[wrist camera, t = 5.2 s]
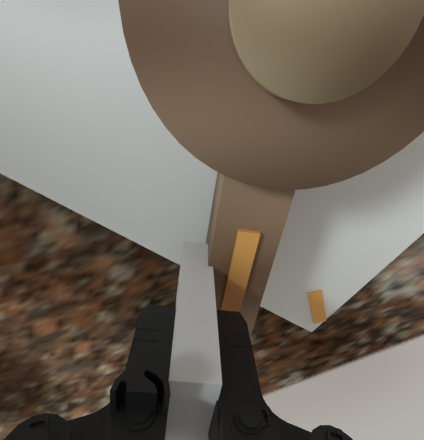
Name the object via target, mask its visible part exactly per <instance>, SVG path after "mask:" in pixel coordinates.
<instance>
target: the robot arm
mask: <svg viewBox="0 0 424 440" xmlns="http://www.w3.org/2000/svg"><path fill="white" fill-rule="evenodd" d="M249 336H250V335H249V330H248V326H247V322H246V321H245V319H244V318H243V316H242V315H241V314H240V312H237V311H225V310H216V298H215V285H214V272H213V267H211V266H208V244H204V243H196V242H187V241H183V248H182V256H181V264H180V272H179V280H178V288H177V297H176V306H175V307H170V306H159V305H147V307H146V308H145V309H144V310H143V311H142V313H141V314H140V315H139V319H138V323H137V326H136V330H135V334H134V338H133V342H132V346H131V349H130V353H129V357H128V361H127V365H126V369H125V371H124V372H123V373H122V374H121V375H120V376H119V377H118V378H117V379H116V380H115V382H114V384H113V386H112V388H111V390H110V403H109V404H108V405H107V406H105V407H104V408H102V409H101V410H99V411H97V412H94V413H92V414H90V415H86V416H83V417H79V418H76V419H73V420H69V421H66V420H65V419H63V418H62V417H60V416H59V415H57V414H48V413H44V414H41V415H37V416H33V417H31V418H29V419H28V420H26V421H24V422H22V423H21V424H19V425H18V426H17V427H16V428H15V429H14V430H13V431H12V432H11V433H10V434H9V435H8V436H7V437H6V438H5V439H4V440H352V438H351V437H349V436H348V435H347V434H345V433H344V432H343V431H342V430H340V429H338V428H335V427H333V426H330V425H323V426H322V425H320V426H318V427H317V428H315V429H314V430H313V431H312V432H309V431H306V430H304V429H302V428H299V427H297V426H294V425H292V424H289V423H287V422H285V421H284V420H282V419H280V418H279V417H278V416H276V415H275V414H274V413H273V412H272V411H271V409H270V408H269V407H268V406H267V404H266V403H265V401H264V399H263V396H262V393H261V390H260V385H259V380H258V375H257V370H256V365H255V360H254V355H253V350H252V345H251V340H250V338H249Z"/></svg>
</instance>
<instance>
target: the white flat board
mask: <svg viewBox="0 0 424 440" xmlns="http://www.w3.org/2000/svg"><path fill="white" fill-rule="evenodd" d="M0 173H1V174H2V175H4V176H6V177H8V178H10V179H12V180H14V181H16V182H18V183H20V184H22V185H24V186H26V187H28V188H30V189H32V190H34V191H36V192H38V193H40V194H42V195H44V196H46V197H47V198H49V199H51V200H53V201H55V202H57V203H59V204H61V205H63V206H65V207H67V208H69V209H71V210H73V211H75V212H77V213H79V214H81V215H83V216H85V217H87V218H89V219H91V220H93V221H94V222H96V223H98V224H100V225H102V226H104V227H106V228H108V229H110V230H112V231H114V232H116V233H118V234H120V235H122V236H124V237H126V238H128V239H130V240H132V241H134V242H136V243H138V244H139V245H141V246H143V247H145V248H147V249H149V250H151V251H153V252H155V253H157V254H159V255H161V256H163V257H165V258H167V259H169V260H171V261H173V262H175V263H177V264H179V265H180V264H181V256H182V248H183V241H187V242H196V243H204V244H206V238H207V232H208V226H209V220H210V214H211V208H212V202H213V196H214V190H215V184H216V178H217V171H215V170H213V169H211V168H210V167H208V166H207V165H205V164H204V163H202V162H201V161H200V160H198V159H197V158H195V157H194V156H193V155H192V154H191V153H190V152H189V151H187V150H186V149H185V148H184V147H183V146H182V145H181V144H180V143H179V142H178V141H177V140H176V139H175V138H174V136H173V135H172V134H171V133H170V132H169V131H168V130H167V128H166V127H165V126H164V124H163V123H162V121H161V120H160V119H159V117H158V116H157V114H156V113H155V111H154V110H153V108H152V107H151V105H150V103H149V101H148V99H147V97H146V95H145V93H144V91H143V89H142V88H141V86H140V83H139V80H138V78H137V75H136V73H135V70H134V68H133V65H132V62H131V60H130V56H129V52H128V48H127V45H126V41H125V37H124V33H123V28H122V22H121V15H120V9H119V2H118V0H0ZM423 233H424V132H423V133H422V134H420V135H419V136H418V137H417V138H416V139H414V140H413V141H412V142H411V143H410V144H408V145H407V146H406V147H405V148H404V149H402V150H401V151H399V152H398V153H396V154H395V155H393V156H392V157H390V158H389V159H387V160H386V161H384V162H383V163H381V164H379V165H377V166H375V167H373V168H372V169H370V170H368V171H366V172H364V173H362V174H359V175H357V176H354V177H352V178H349V179H347V180H344V181H341V182H337V183H334V184H331V185H327V186H322V187H316V188H310V189H301V190H295V193H294V196H293V200H292V203H291V206H290V210H289V213H288V216H287V219H286V223H285V226H284V229H283V232H282V236H281V239H280V242H279V245H278V249H277V252H276V255H275V259H274V262H273V265H272V268H271V272H270V275H269V278H268V281H267V285H266V288H265V291H264V294H263V298H262V301H261V304H260V306H261V307H263V308H265V309H267V310H269V311H271V312H273V313H275V314H276V315H278V316H280V317H282V318H284V319H286V320H288V321H290V322H292V323H294V324H296V325H298V326H300V327H302V328H304V329H306V330H308V331H310V332H313V331H314V330H315V329H316V328H317V327H318V326H319V325H320V324H322V323H323V322H325V321H327V320H326V319H327V318H328V317H329V316H331V315H332V314H333V313H334V312H335V311H336V310H337V309H339V308H340V307H341V306H342V305H343V304H344V303H345V302H346V301H348V300H349V299H350V298H351V297H352V296H353V295H354V294H356V293H357V292H358V291H359V290H360V289H361V288H362V287H363V286H365V285H366V284H367V283H368V282H369V281H370V280H371V279H372V278H374V277H375V276H376V275H377V274H378V273H379V272H380V271H382V270H383V269H384V268H385V267H386V266H387V265H388V264H389V263H391V262H392V261H393V260H394V259H395V258H396V257H397V256H399V255H400V254H401V253H402V252H403V251H404V250H405V249H406V248H408V247H409V246H410V245H411V244H412V243H413V242H414V241H415V240H417V239H418V238H419V237H420V236H421V235H422V234H423Z"/></svg>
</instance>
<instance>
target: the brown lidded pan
mask: <svg viewBox="0 0 424 440" xmlns="http://www.w3.org/2000/svg"><path fill="white" fill-rule="evenodd" d="M118 2H119V9H120V15H121V22H122V28H123V33H124V37H125V41H126V45H127V48H128V52H129V56H130V60H131V62H132V65H133V68H134V70H135V73H136V75H137V78H138V80H139V83H140V86H141V88H142V89H143V91H144V93H145V95H146V97H147V99H148V101H149V103H150V105H151V107H152V108H153V110H154V111H155V113H156V114H157V116H158V117H159V119H160V120H161V121H162V123H163V124H164V126H165V127H166V128H167V130H168V131H169V132H170V133H171V134H172V135H173V136H174V138H175V139H176V140H177V141H178V142H179V143H180V144H181V145H182V146H183V147H184V148H185V149H186V150H187V151H189V152H190V153H191V154H192V155H193V156H194V157H195V158H197V159H198V160H200V161H201V162H202V163H204V164H205V165H207V166H208V167H210V168H211V169H213V170H215V171H217V178H216V184H215V190H214V196H213V202H212V208H211V214H210V220H209V226H208V232H207V238H206V244H208V266H211V267H213V272H214V285H215V298H216V310H225V311H237V312H240V314H241V315H242V316H243V318H244V319H245V321H246V322H247V326H248V330H249V335H250V336H249V338H250V337H251V334H252V330H253V327H254V324H255V321H256V317H257V314H258V311H259V308H260V304H261V301H262V298H263V294H264V291H265V288H266V285H267V281H268V278H269V275H270V272H271V268H272V265H273V262H274V259H275V255H276V252H277V249H278V245H279V242H280V239H281V236H282V232H283V229H284V226H285V223H286V219H287V216H288V213H289V210H290V206H291V203H292V200H293V196H294V193H295V190H301V189H310V188H316V187H322V186H327V185H331V184H334V183H337V182H341V181H344V180H347V179H349V178H352V177H354V176H357V175H359V174H362V173H364V172H366V171H368V170H370V169H372V168H373V167H375V166H377V165H379V164H381V163H383V162H384V161H386V160H387V159H389V158H390V157H392V156H393V155H395V154H396V153H398V152H399V151H401V150H402V149H404V148H405V147H406V146H407V145H408V144H410V143H411V142H412V141H413V140H414V139H416V138H417V137H418V136H419V135H420V134H422V133H423V132H424V0H118Z"/></svg>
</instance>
